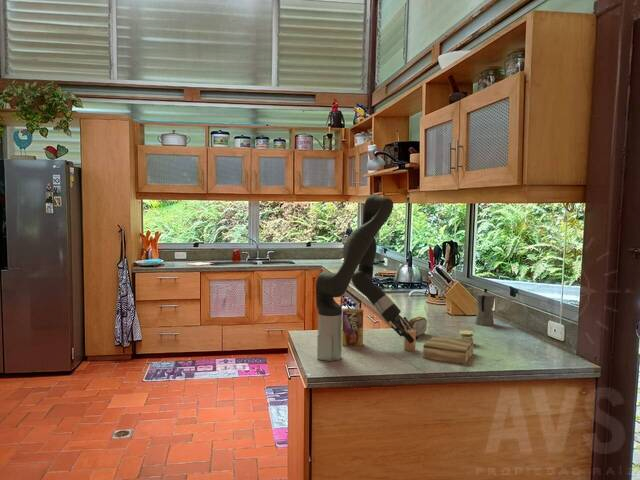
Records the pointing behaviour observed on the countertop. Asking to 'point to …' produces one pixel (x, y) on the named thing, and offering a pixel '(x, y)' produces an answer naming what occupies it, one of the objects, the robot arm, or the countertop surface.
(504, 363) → the countertop surface
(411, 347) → the peach domed capsule
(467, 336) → the stacked layers on plate
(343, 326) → the candy box
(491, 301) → the coffeepot
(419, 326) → the tin
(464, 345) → the plinth
